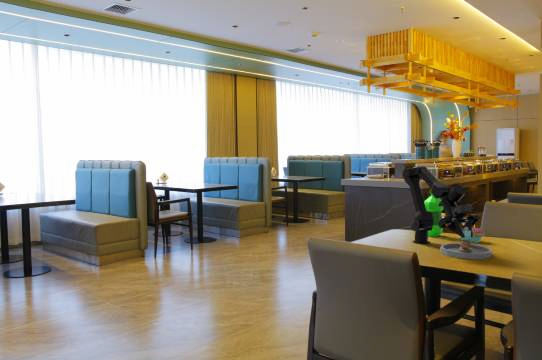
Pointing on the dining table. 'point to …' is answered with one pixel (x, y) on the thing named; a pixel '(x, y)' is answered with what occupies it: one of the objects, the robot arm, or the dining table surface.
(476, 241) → the cupcake
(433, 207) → the plastic bottle
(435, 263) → the dining table surface
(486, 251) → the groove tray
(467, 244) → the bead stack
